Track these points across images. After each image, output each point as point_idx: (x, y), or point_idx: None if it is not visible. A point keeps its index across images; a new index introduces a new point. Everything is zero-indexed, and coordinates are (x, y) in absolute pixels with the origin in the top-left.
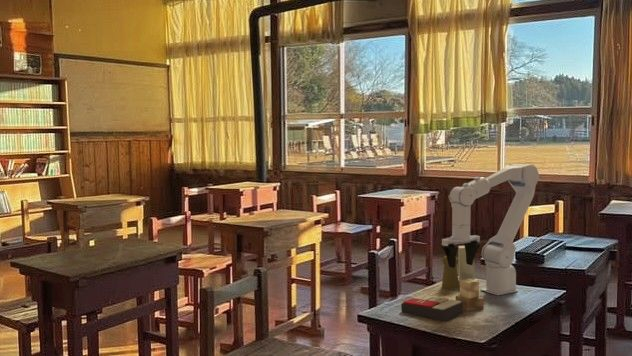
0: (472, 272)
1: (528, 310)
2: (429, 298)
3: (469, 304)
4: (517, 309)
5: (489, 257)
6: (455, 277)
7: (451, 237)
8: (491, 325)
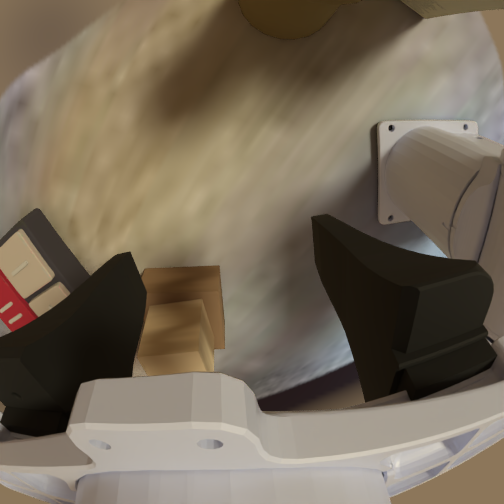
0: (448, 8)
1: (331, 362)
2: (35, 290)
3: None
4: (313, 352)
5: (495, 241)
6: (306, 22)
7: (67, 480)
8: None
